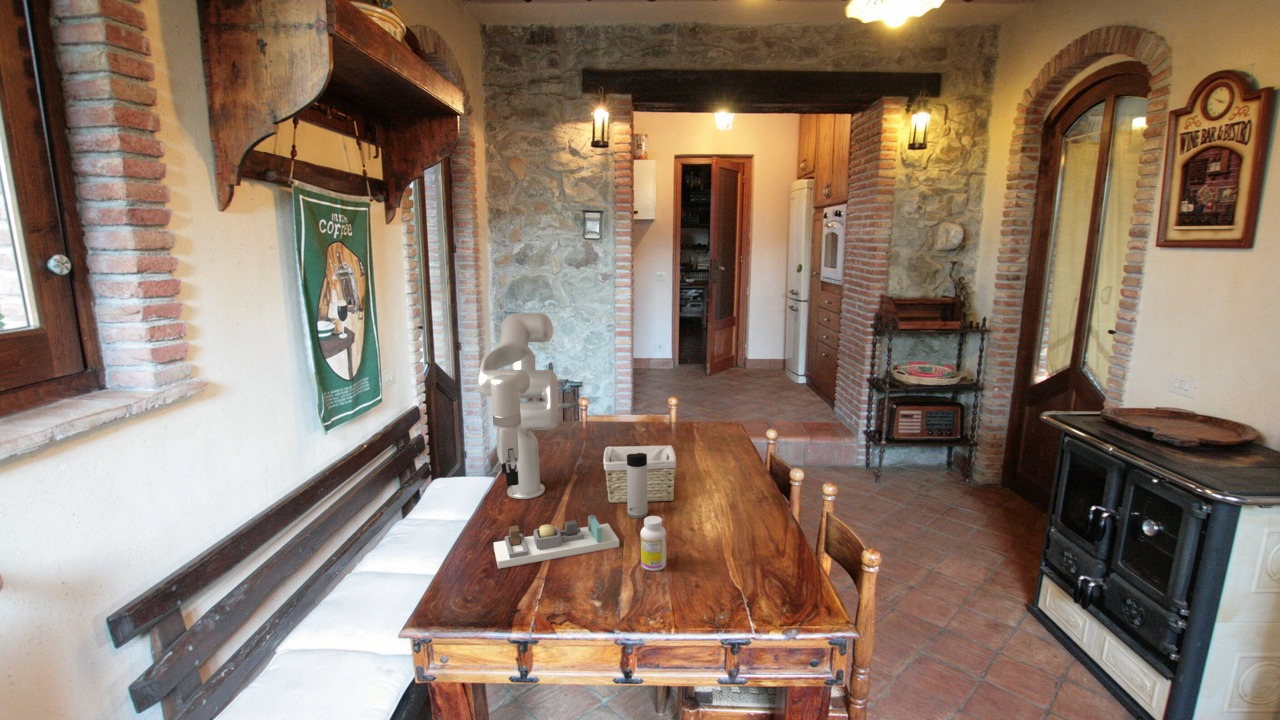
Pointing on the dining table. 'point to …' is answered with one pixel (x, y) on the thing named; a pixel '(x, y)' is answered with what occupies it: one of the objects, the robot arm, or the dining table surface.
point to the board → (551, 545)
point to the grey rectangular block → (571, 528)
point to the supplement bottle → (653, 544)
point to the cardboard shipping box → (514, 535)
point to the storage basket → (658, 472)
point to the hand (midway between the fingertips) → (510, 478)
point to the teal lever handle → (595, 528)
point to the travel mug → (637, 485)
